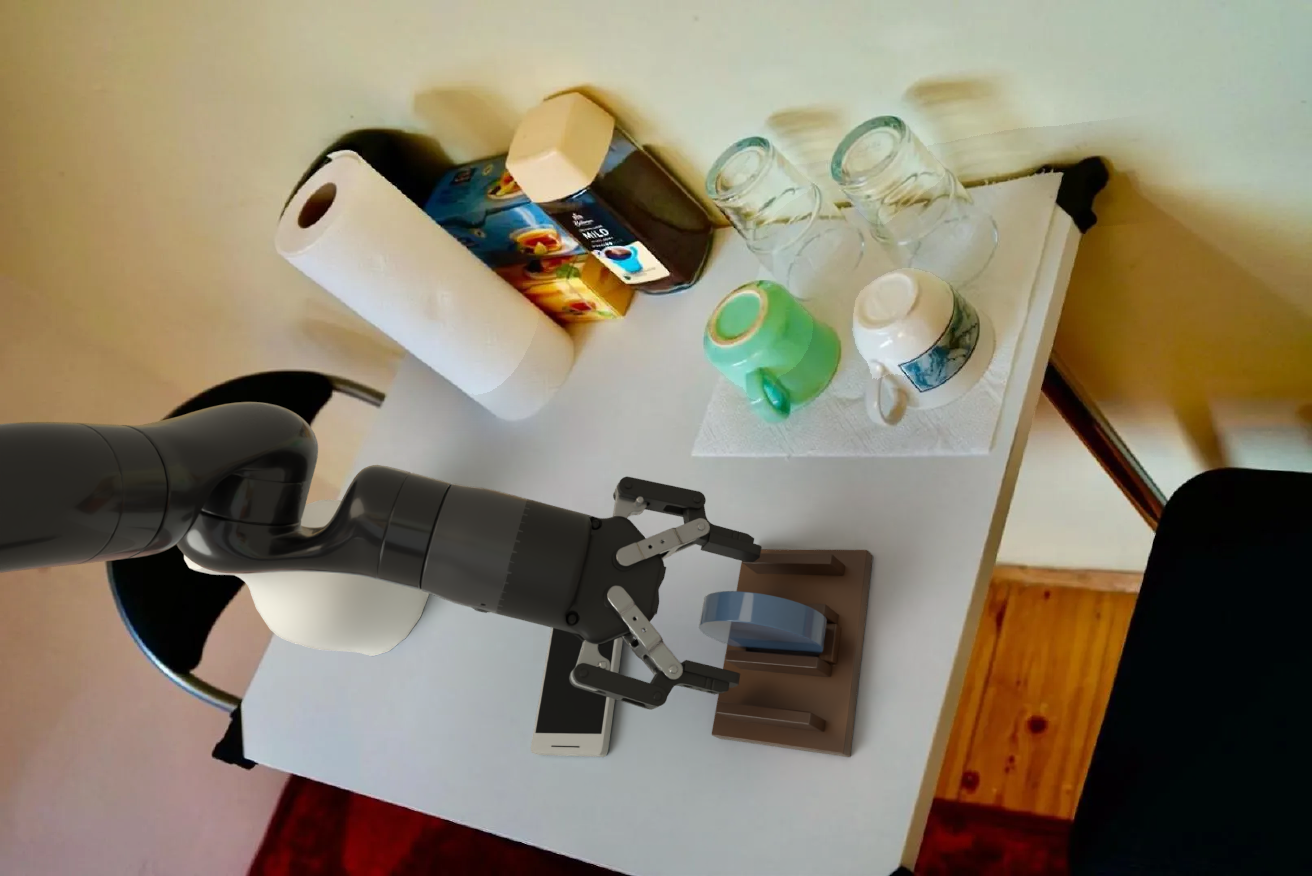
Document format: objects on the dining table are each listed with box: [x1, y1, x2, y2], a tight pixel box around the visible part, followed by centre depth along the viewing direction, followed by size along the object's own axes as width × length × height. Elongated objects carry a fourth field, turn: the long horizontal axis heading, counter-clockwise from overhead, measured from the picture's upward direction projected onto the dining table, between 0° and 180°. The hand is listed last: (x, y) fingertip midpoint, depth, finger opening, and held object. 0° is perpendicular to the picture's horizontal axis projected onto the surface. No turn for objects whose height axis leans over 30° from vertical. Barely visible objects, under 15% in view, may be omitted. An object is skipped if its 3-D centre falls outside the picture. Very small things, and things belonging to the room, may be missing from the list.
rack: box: [711, 548, 874, 758], centre depth 63 cm, size 14×10×4 cm
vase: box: [183, 498, 430, 657], centre depth 84 cm, size 14×14×20 cm
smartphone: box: [530, 627, 624, 758], centre depth 73 cm, size 7×15×1 cm, turn 172°
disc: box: [698, 590, 827, 656], centre depth 60 cm, size 2×8×8 cm, turn 76°
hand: (747, 615), depth 59 cm, fingers open, 8 cm apart
